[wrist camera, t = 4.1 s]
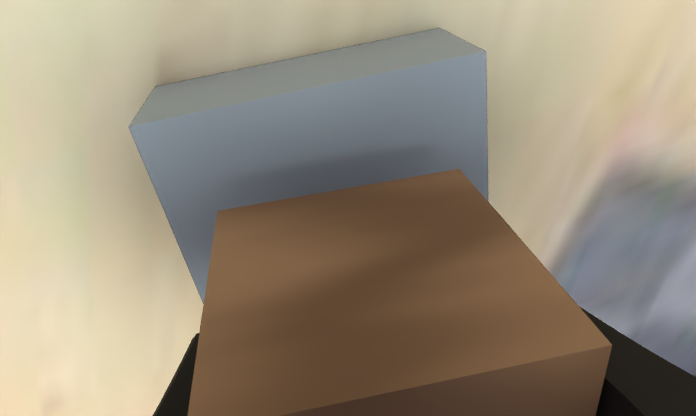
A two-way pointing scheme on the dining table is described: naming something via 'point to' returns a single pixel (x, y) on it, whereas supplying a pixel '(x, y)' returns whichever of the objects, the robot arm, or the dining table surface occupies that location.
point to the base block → (312, 129)
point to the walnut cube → (388, 311)
